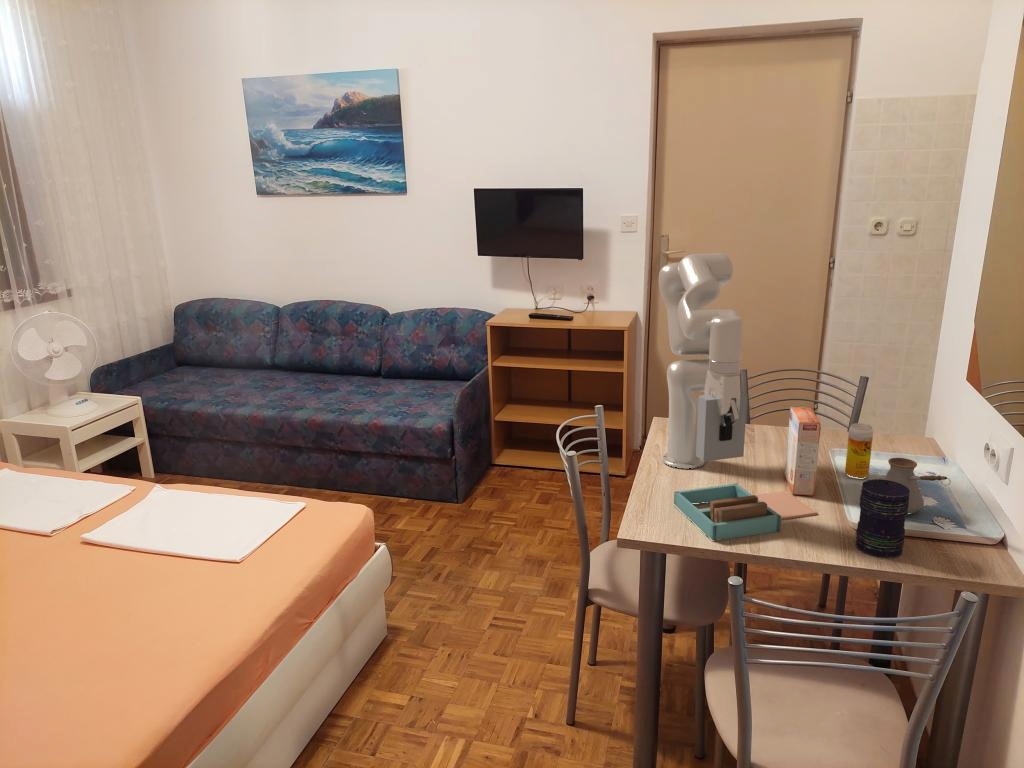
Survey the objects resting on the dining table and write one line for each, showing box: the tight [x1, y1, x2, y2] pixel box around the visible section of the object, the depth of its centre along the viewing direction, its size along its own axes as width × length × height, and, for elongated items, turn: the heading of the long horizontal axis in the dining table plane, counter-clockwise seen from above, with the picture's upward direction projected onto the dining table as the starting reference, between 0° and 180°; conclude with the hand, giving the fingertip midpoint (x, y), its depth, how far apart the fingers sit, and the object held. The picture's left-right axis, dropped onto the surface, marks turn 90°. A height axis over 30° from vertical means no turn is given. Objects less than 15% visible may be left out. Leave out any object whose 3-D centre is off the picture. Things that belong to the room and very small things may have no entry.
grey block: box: [696, 391, 748, 463], centre depth 182 cm, size 4×11×16 cm, turn 104°
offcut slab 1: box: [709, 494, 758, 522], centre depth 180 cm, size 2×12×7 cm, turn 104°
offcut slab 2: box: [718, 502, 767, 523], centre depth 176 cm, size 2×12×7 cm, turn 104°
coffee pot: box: [882, 457, 951, 514], centre depth 180 cm, size 21×12×15 cm, turn 8°
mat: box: [754, 490, 818, 521], centre depth 190 cm, size 14×13×1 cm
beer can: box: [844, 422, 874, 478], centre depth 205 cm, size 6×6×15 cm
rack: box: [673, 483, 782, 541], centre depth 184 cm, size 20×18×4 cm
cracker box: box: [784, 406, 822, 497], centre depth 199 cm, size 14×6×21 cm, turn 168°
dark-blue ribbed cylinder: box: [855, 479, 910, 559], centre depth 166 cm, size 10×10×15 cm
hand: (720, 436), depth 183 cm, fingers closed on grey block, 4 cm apart
